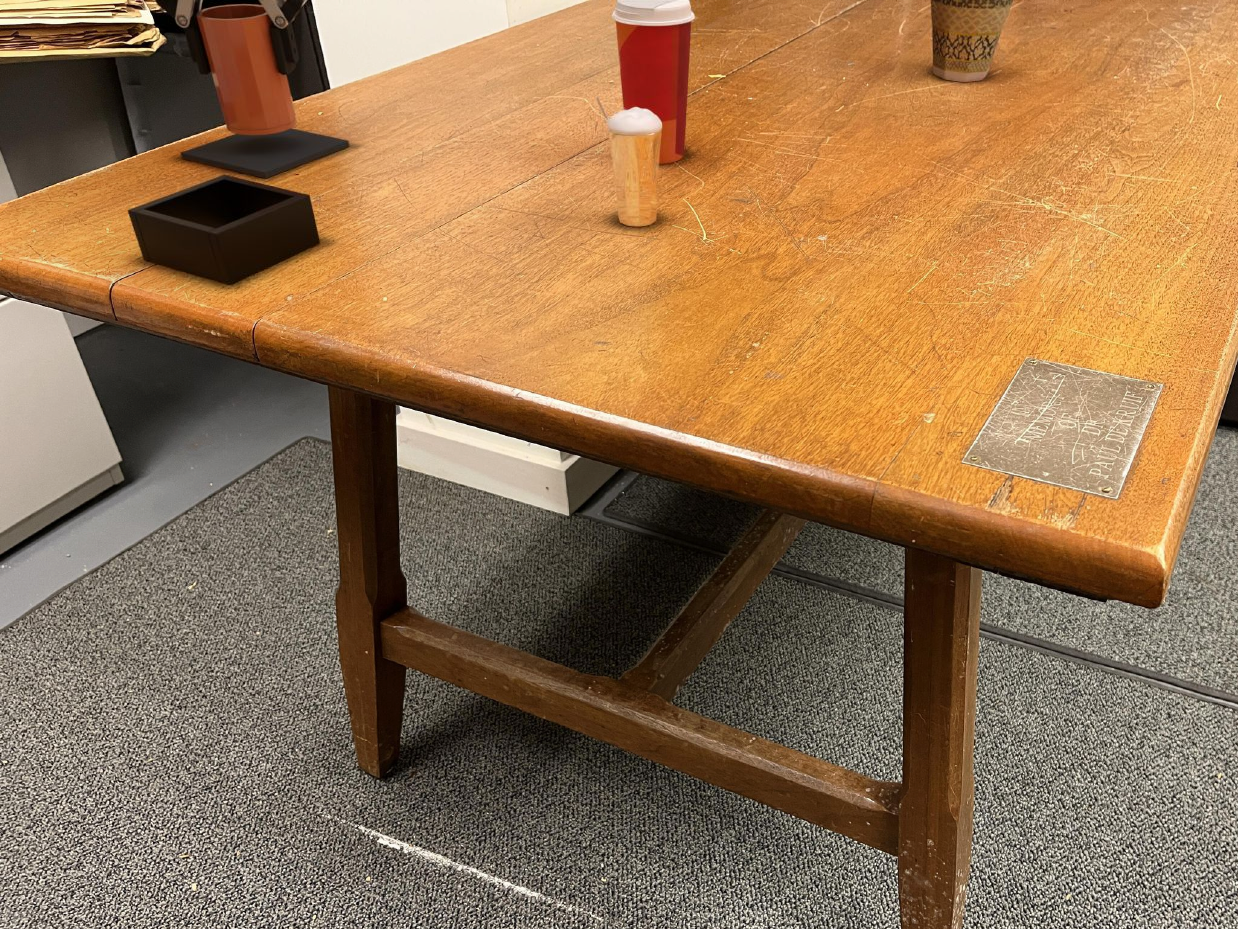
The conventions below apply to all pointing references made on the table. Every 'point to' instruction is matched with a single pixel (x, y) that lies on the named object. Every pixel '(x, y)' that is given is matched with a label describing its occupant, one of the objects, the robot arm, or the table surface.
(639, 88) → the paper cup
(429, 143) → the table surface
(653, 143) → the milkshake
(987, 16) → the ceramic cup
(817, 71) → the table surface
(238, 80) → the cup
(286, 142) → the coaster
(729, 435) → the table surface
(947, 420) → the table surface
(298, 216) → the open black box
